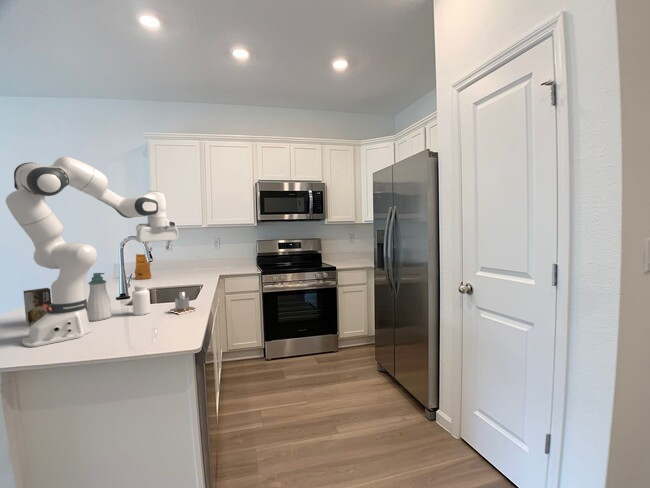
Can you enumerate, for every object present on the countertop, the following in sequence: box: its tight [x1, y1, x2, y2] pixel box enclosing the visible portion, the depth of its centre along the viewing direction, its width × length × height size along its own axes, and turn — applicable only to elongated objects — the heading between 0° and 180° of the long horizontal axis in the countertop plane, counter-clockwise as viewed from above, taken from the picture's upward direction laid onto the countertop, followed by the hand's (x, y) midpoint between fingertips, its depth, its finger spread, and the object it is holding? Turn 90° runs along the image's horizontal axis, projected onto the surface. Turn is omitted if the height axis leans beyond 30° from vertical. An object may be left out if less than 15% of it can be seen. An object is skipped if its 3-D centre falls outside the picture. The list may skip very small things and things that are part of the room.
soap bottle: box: [87, 272, 112, 322], centre depth 158 cm, size 10×10×23 cm
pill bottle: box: [131, 284, 151, 316], centre depth 166 cm, size 8×8×15 cm
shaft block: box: [169, 291, 196, 313], centre depth 169 cm, size 9×9×10 cm
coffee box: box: [23, 287, 52, 327], centre depth 153 cm, size 9×6×16 cm
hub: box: [174, 296, 190, 309], centre depth 169 cm, size 6×6×5 cm
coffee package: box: [134, 253, 152, 281], centre depth 280 cm, size 10×12×22 cm
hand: (159, 250), depth 164 cm, fingers open, 8 cm apart
